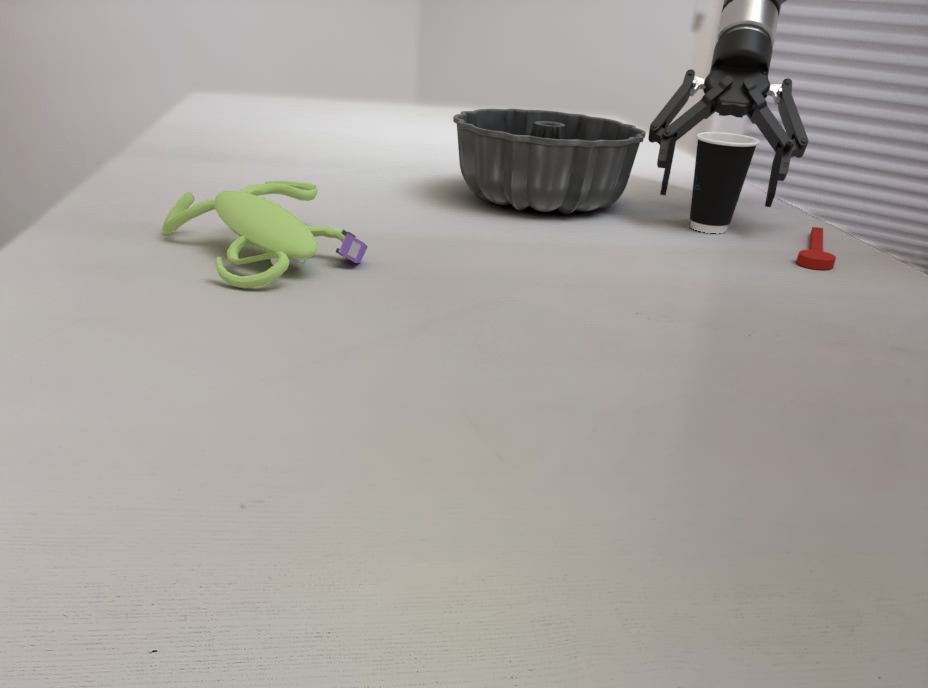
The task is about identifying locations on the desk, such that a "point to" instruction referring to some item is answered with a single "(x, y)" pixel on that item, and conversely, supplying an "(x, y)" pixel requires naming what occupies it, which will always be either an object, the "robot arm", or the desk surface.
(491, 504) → the desk surface
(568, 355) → the desk surface
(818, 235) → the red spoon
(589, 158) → the bundt pan
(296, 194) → the figurine
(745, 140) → the dixie cup
